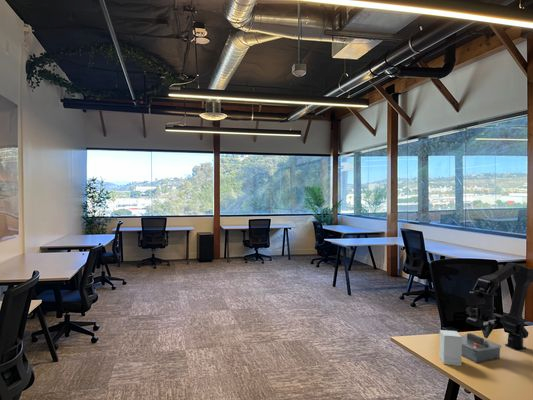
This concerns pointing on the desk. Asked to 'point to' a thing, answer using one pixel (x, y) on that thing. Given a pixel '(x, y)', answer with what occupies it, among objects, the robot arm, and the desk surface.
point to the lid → (478, 342)
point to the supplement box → (450, 347)
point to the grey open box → (480, 354)
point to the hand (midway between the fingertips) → (485, 337)
